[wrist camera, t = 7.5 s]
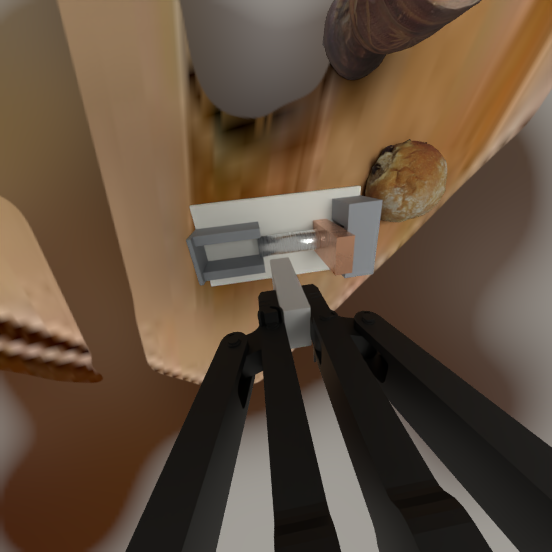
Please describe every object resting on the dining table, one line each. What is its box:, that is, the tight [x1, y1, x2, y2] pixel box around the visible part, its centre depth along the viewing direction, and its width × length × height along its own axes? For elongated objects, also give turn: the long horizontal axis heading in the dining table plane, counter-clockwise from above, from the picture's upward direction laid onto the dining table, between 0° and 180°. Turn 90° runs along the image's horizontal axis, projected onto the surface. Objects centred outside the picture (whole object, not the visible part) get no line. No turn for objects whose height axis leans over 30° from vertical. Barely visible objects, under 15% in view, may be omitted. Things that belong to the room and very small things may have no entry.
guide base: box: [186, 186, 383, 286], centre depth 28 cm, size 12×23×6 cm, turn 96°
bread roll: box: [365, 139, 447, 222], centre depth 28 cm, size 10×10×8 cm
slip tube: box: [257, 219, 355, 275], centre depth 26 cm, size 4×14×9 cm, turn 96°
